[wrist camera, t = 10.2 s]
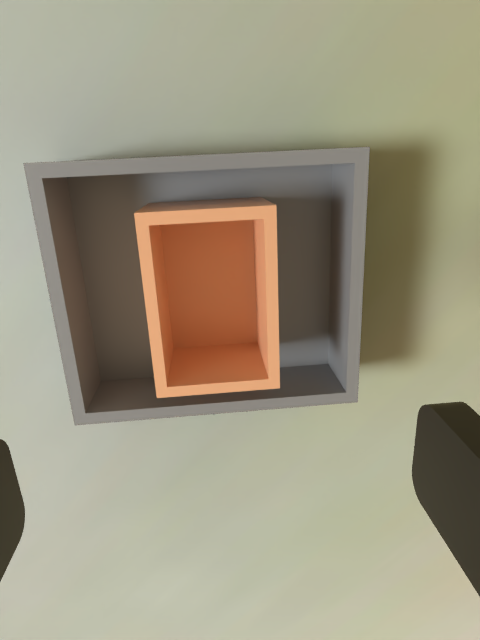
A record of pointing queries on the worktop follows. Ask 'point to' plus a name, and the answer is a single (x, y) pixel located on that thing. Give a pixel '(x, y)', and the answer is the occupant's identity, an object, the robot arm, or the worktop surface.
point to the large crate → (127, 288)
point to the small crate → (211, 294)
